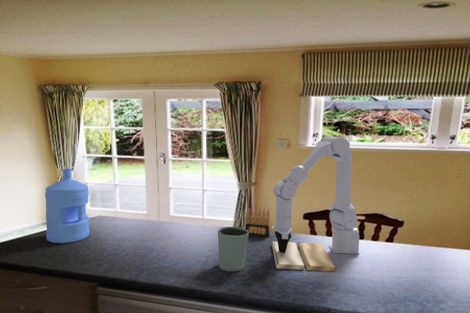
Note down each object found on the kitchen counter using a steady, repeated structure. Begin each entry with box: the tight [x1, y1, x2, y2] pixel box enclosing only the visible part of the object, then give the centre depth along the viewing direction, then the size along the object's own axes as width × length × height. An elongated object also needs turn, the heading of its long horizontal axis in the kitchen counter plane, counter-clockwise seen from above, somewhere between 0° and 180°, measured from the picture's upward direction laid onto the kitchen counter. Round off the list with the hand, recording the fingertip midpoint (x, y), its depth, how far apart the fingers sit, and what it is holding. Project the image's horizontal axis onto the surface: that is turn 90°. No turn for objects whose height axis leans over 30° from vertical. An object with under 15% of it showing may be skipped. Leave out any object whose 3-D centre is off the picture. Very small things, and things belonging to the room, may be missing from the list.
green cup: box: [217, 226, 249, 272], centre depth 111 cm, size 10×10×12 cm
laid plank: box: [297, 242, 336, 272], centre depth 120 cm, size 9×22×2 cm, turn 177°
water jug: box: [44, 168, 90, 244], centre depth 135 cm, size 16×16×28 cm
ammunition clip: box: [244, 207, 271, 238], centre depth 143 cm, size 11×2×12 cm, turn 75°
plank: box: [271, 240, 305, 271], centre depth 120 cm, size 9×22×2 cm, turn 177°
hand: (282, 252), depth 120 cm, fingers closed, pressing on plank
